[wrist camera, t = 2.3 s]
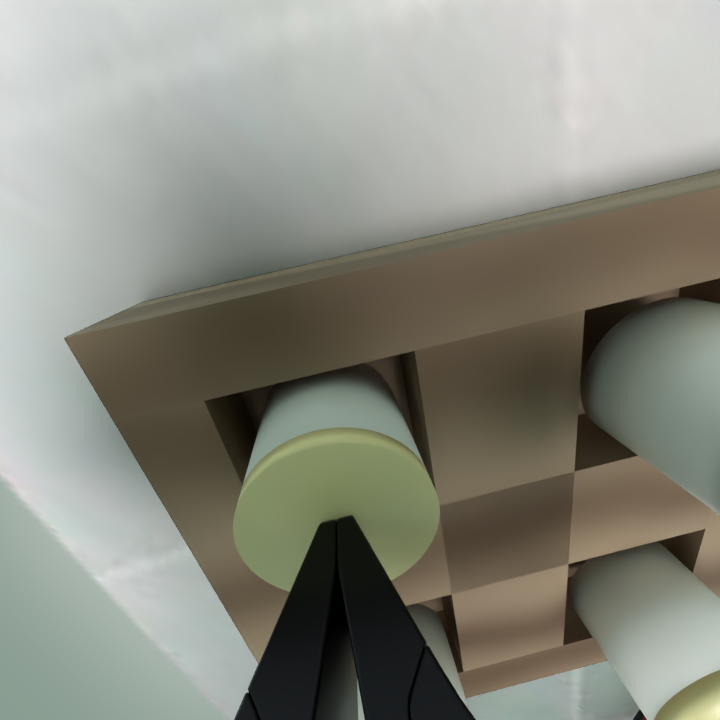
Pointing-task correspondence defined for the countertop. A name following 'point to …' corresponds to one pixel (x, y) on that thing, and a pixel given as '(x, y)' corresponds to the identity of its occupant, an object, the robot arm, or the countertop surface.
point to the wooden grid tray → (437, 408)
